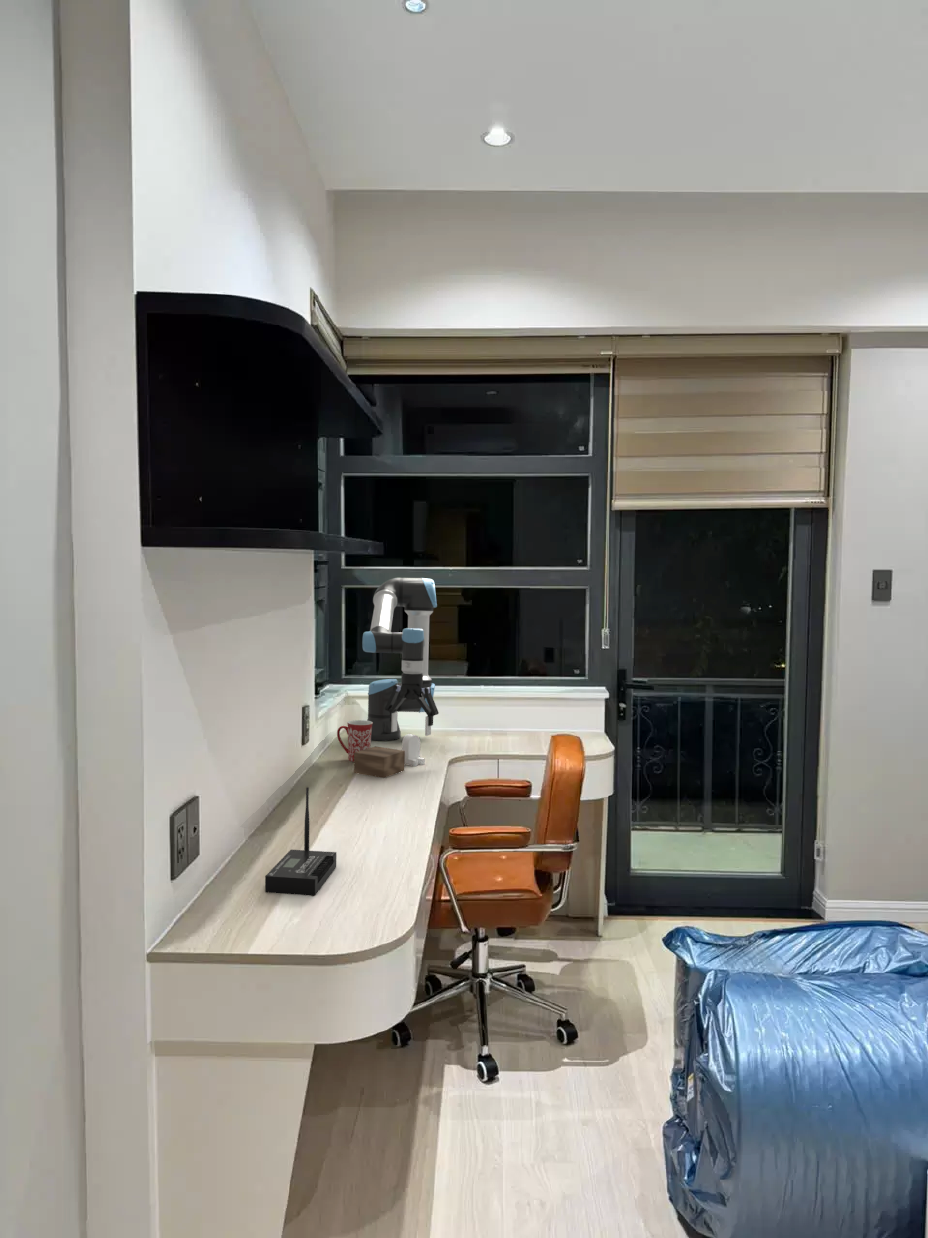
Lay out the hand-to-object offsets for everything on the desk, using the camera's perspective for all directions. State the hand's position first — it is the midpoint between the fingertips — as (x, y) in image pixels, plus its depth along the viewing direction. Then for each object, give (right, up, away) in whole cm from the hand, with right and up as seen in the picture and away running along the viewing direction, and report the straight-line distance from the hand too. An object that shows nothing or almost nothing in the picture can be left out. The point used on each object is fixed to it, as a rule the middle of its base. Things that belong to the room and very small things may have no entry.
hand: (410, 733), depth 276 cm
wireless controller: (-16, -16, -107) cm, 109 cm away
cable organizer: (0, -11, +1) cm, 11 cm away
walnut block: (-10, -11, -13) cm, 20 cm away
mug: (-20, -10, +3) cm, 23 cm away
